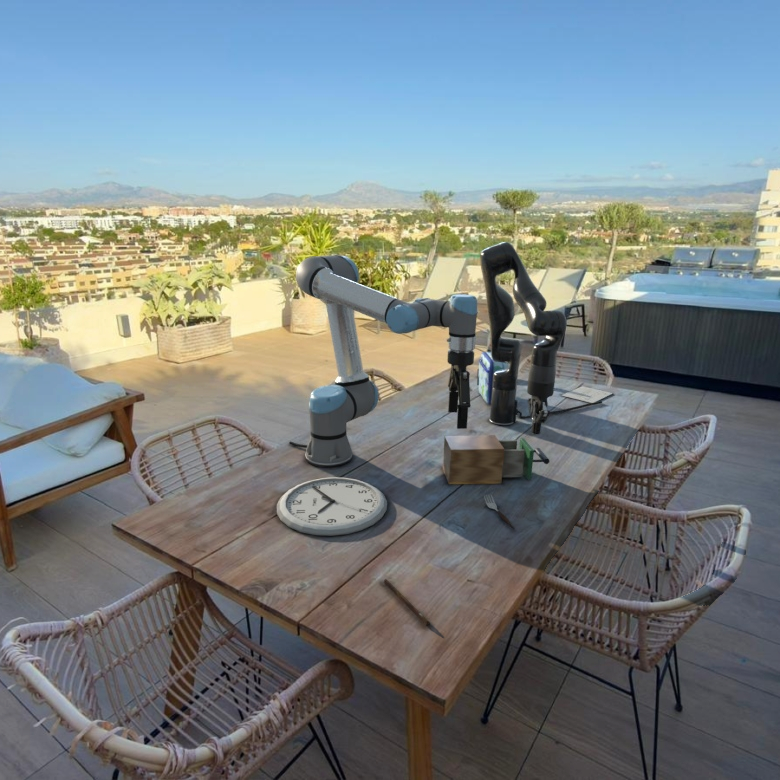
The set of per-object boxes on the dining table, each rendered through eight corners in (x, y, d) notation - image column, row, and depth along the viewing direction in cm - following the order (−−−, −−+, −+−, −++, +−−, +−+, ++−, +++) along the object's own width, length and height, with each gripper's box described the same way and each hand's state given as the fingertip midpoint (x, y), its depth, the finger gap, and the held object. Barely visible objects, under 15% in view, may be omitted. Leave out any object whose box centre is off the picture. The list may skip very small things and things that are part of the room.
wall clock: (392, 527, 129) (268, 531, 127) (391, 533, 130) (269, 537, 127) (383, 473, 158) (282, 475, 155) (383, 478, 158) (282, 480, 156)
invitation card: (582, 386, 254) (612, 393, 244) (582, 386, 255) (612, 393, 244) (561, 395, 240) (592, 402, 230) (561, 395, 240) (592, 403, 230)
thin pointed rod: (383, 582, 112) (383, 578, 112) (385, 582, 112) (385, 578, 112) (426, 626, 100) (426, 621, 100) (428, 625, 100) (428, 620, 100)
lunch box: (475, 390, 246) (478, 346, 240) (498, 390, 246) (501, 347, 240) (484, 408, 221) (487, 360, 215) (509, 409, 221) (513, 360, 215)
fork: (509, 531, 131) (510, 524, 131) (482, 501, 146) (482, 494, 145) (519, 530, 132) (519, 523, 132) (491, 499, 147) (491, 493, 146)
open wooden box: (492, 467, 167) (494, 435, 164) (501, 483, 157) (504, 448, 153) (442, 468, 166) (444, 435, 162) (448, 484, 156) (450, 449, 152)
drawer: (537, 465, 167) (540, 438, 164) (548, 478, 158) (551, 450, 155) (475, 466, 166) (477, 438, 163) (482, 480, 157) (485, 451, 154)
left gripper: (440, 340, 161) (437, 406, 167) (456, 360, 137) (452, 436, 143) (464, 340, 161) (460, 405, 167) (485, 360, 137) (479, 435, 144)
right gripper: (522, 372, 159) (516, 425, 165) (536, 385, 147) (530, 442, 152) (545, 372, 160) (540, 425, 165) (562, 385, 147) (555, 441, 153)
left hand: (457, 419), depth 155 cm, fingers open, 13 cm apart
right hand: (535, 433), depth 159 cm, fingers closed
